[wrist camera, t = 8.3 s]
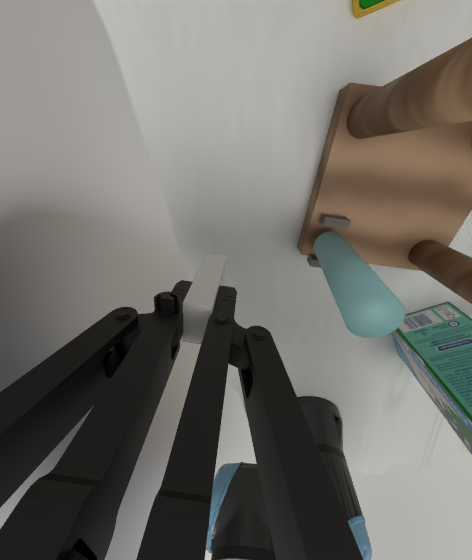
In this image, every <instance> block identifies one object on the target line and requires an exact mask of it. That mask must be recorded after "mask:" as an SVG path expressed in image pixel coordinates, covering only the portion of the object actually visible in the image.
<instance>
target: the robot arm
mask: <svg viewBox="0 0 472 560" xmlns="http://www.w3.org/2000/svg"><path fill="white" fill-rule="evenodd" d="M225 263H226V255H220V254H213V253H207V254H206V256H205V258H204V260H203V262H202V264H201V266H200V268H199V270H198V272H197V274H196V276H195V279H194V281H193V282H190V281H183V280H181V281H180V282H178V283H177V284H176V285H175V287H174V288H173V290H172V292H162V293H159V294H157V295H156V296H155V297H154V305H155V311H154V312H153V313H148V314H138V313H137V311H136V310H135V309H134V308H131V307H121V308H118V309H115V310H113V311H112V312H110V313H109V314H108V315H106V316H105V317H103V318H102V319H101V320H99V321H98V322H96V323H95V324H94V325H92V326H91V327H90V328H88V329H87V330H85V331H84V332H83V333H81V334H80V335H79V336H77V337H76V338H74V339H73V340H72V341H70V342H69V343H68V344H66V345H65V346H64V347H62V348H61V349H59V350H58V351H56V352H55V353H54V354H52V355H51V356H50V357H48V358H47V359H46V360H44V361H43V362H41V363H40V364H39V365H37V366H36V367H35V368H33V369H32V370H30V371H29V372H28V373H26V374H25V375H23V376H22V377H21V378H19V379H18V380H17V381H15V382H14V383H12V384H11V385H10V386H8V387H7V388H6V389H4V390H3V391H1V392H0V507H1V506H2V505H3V504H4V503H5V502H6V501H7V500H8V499H9V498H10V497H11V495H12V494H13V493H14V492H15V491H16V490H17V489H18V488H19V487H20V485H22V483H23V482H24V481H25V480H26V479H27V478H28V477H29V476H30V475H31V474H32V472H33V471H34V470H35V469H36V468H37V467H38V466H39V465H40V464H41V462H43V460H44V459H45V458H46V457H47V456H48V455H49V454H50V453H51V452H52V451H53V449H54V448H55V447H56V446H57V445H58V444H59V443H60V442H61V441H62V440H63V438H64V437H65V436H66V435H67V434H68V433H69V432H70V431H71V430H72V429H73V428H74V426H75V425H76V424H77V423H78V422H79V421H80V420H81V419H82V418H83V417H84V416H85V415H86V413H87V412H88V411H89V410H90V409H91V408H92V407H93V406H94V407H93V408H92V410H91V411H90V413H89V414H88V416H87V418H86V419H85V421H84V422H83V424H82V426H81V427H80V429H79V430H78V432H77V434H76V435H75V437H74V438H73V440H72V441H71V443H70V444H69V446H68V447H67V449H66V451H65V452H64V454H63V456H62V457H61V459H60V460H59V462H58V463H57V465H56V466H55V467H54V469H53V470H52V471H51V472H50V473H48V474H46V475H45V476H43V477H41V478H39V479H38V480H37V481H36V482H35V483H33V484H32V485H31V486H30V488H29V489H28V490H27V492H26V493H25V494H24V496H23V497H22V498H21V500H20V501H19V503H18V504H17V505H16V507H15V508H14V510H13V512H12V513H11V514H10V516H9V517H8V519H7V520H6V522H5V523H4V525H3V526H2V528H1V529H0V560H104V559H105V556H106V554H107V551H108V548H109V545H110V542H111V539H112V536H113V533H114V529H115V524H116V518H117V513H118V510H119V507H120V504H121V502H122V499H123V496H124V494H125V491H126V489H127V486H128V483H129V480H130V478H131V475H132V473H133V470H134V467H135V465H136V462H137V459H138V457H139V454H140V452H141V449H142V446H143V444H144V441H145V438H146V436H147V433H148V431H149V428H150V425H151V423H152V420H153V417H154V415H155V412H156V409H157V407H158V404H159V402H160V399H161V396H162V394H163V391H164V389H165V386H166V383H167V381H168V378H169V375H170V373H171V370H172V367H173V365H174V362H175V360H176V357H177V354H178V352H179V349H180V339H181V338H182V341H184V342H190V343H197V344H201V347H200V351H199V354H198V358H197V362H196V365H195V369H194V372H193V375H192V379H191V383H190V386H189V390H188V393H187V397H186V401H185V404H184V408H183V411H182V415H181V418H180V422H179V425H178V429H177V432H176V436H175V439H174V443H173V446H172V450H171V454H170V457H169V461H168V465H167V468H166V471H165V475H164V478H163V482H162V485H161V488H160V490H159V492H158V494H157V495H156V498H155V500H154V503H153V506H152V509H151V512H150V515H149V519H148V522H147V525H146V529H145V532H144V536H143V539H142V542H141V546H140V549H139V553H138V556H137V559H136V560H204V559H205V551H206V550H208V551H209V553H212V558H211V560H371V556H372V550H371V545H370V541H369V537H368V533H367V530H366V526H365V518H364V516H363V515H362V511H361V508H360V505H359V502H358V499H357V495H356V492H355V489H354V486H353V482H352V479H351V476H350V473H349V469H348V466H347V463H346V459H345V456H344V453H343V427H342V419H341V416H340V413H339V410H338V408H337V407H336V406H335V405H334V404H333V403H331V402H329V401H327V400H324V399H321V398H315V397H301V398H297V396H296V394H295V392H294V389H293V387H292V384H291V382H290V379H289V377H288V374H287V372H286V370H285V367H284V365H283V362H282V360H281V357H280V355H279V353H278V350H277V348H276V345H275V343H274V340H273V338H272V336H271V334H270V332H269V331H268V330H267V329H265V328H263V327H261V326H251V327H249V328H247V329H245V328H243V327H241V326H239V325H238V324H237V323H236V322H235V320H234V312H235V304H236V296H237V292H236V290H235V288H233V287H226V286H223V279H224V271H225ZM228 363H229V364H231V365H233V366H235V367H237V368H238V371H239V376H240V381H241V386H242V391H243V397H244V402H245V407H246V412H247V417H248V422H249V426H250V431H251V436H252V442H253V447H254V452H255V457H256V462H257V464H249V463H243V462H240V463H230V464H224V465H223V466H222V467H221V468H220V469H219V470H218V472H217V474H216V476H215V479H214V473H215V465H216V457H217V449H218V441H219V433H220V426H221V418H222V410H223V402H224V394H225V386H226V378H227V370H228ZM213 481H214V482H213Z"/></svg>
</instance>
